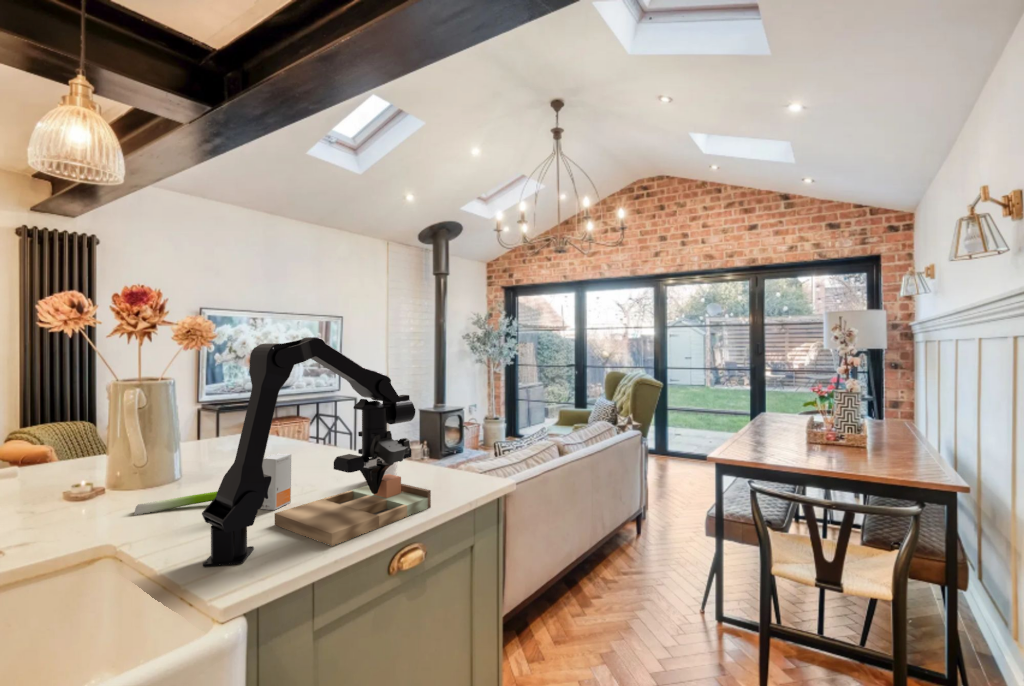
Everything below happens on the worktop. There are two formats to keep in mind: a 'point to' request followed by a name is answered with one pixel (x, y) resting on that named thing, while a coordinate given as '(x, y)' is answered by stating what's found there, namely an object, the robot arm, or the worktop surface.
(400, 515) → the board
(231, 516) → the robot arm
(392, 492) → the block
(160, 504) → the leek
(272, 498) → the skincare box
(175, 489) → the worktop surface
